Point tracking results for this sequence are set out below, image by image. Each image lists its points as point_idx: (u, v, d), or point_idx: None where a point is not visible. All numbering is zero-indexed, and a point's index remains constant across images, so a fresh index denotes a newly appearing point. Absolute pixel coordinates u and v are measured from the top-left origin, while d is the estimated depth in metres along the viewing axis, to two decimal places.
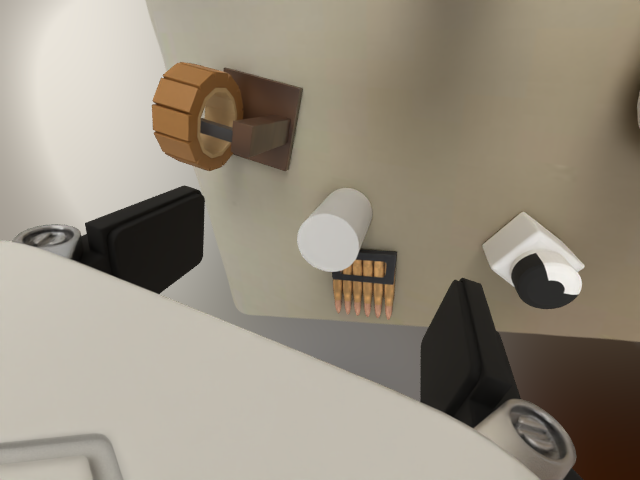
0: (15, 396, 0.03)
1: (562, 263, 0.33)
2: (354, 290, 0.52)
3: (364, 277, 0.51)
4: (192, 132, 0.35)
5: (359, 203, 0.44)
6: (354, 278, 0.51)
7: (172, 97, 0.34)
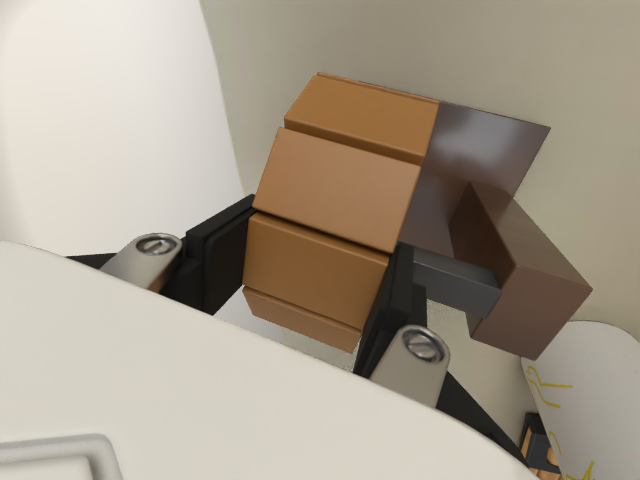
0: (15, 396, 0.03)
1: None
2: None
3: None
4: None
5: None
6: None
7: (324, 198, 0.10)
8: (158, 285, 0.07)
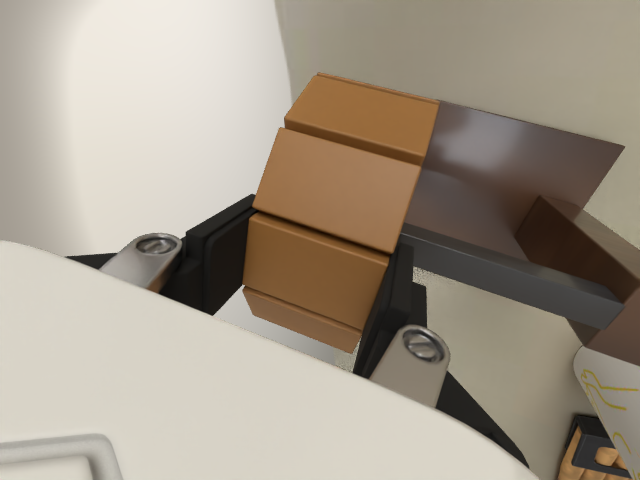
0: (15, 396, 0.03)
1: None
2: None
3: None
4: None
5: None
6: (620, 472, 0.29)
7: (324, 198, 0.10)
8: (158, 285, 0.07)
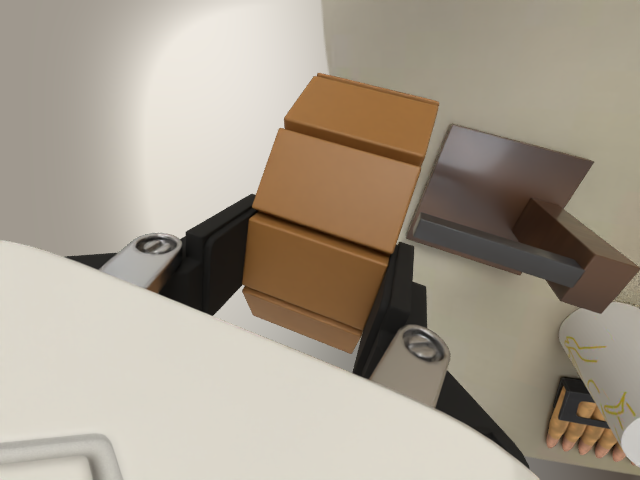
0: (15, 396, 0.03)
1: None
2: (591, 434, 0.36)
3: None
4: None
5: None
6: (597, 423, 0.35)
7: (324, 199, 0.10)
8: (158, 285, 0.07)
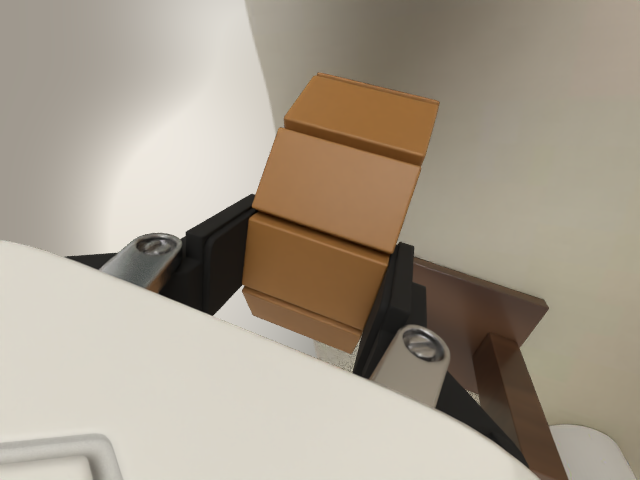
0: (15, 396, 0.03)
1: None
2: None
3: None
4: None
5: None
6: None
7: (324, 198, 0.10)
8: (158, 285, 0.07)
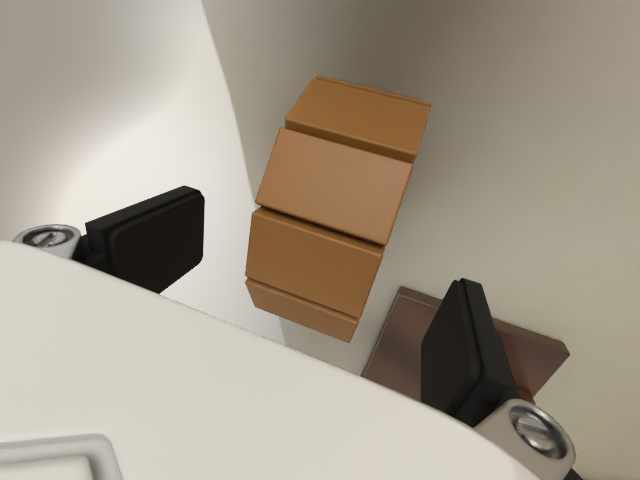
0: (15, 396, 0.03)
1: None
2: None
3: None
4: None
5: None
6: None
7: (322, 194, 0.10)
8: None
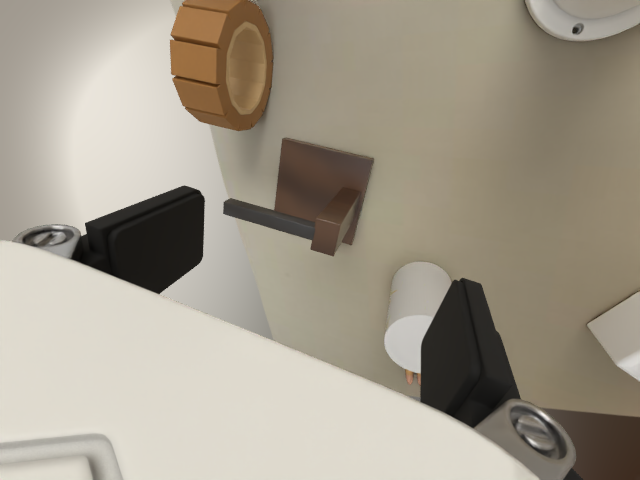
0: (15, 396, 0.03)
1: None
2: None
3: None
4: (220, 73, 0.28)
5: (444, 285, 0.38)
6: None
7: (195, 28, 0.27)
8: None
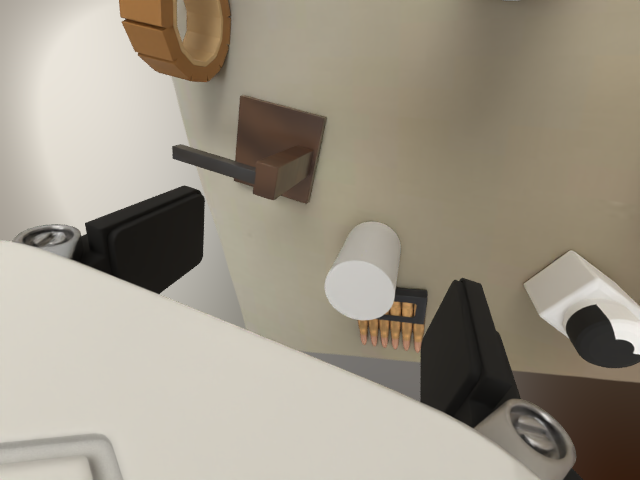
0: (14, 396, 0.03)
1: (631, 320, 0.29)
2: (381, 327, 0.49)
3: (392, 316, 0.48)
4: (166, 16, 0.30)
5: (389, 241, 0.40)
6: (381, 317, 0.48)
7: None
8: None
